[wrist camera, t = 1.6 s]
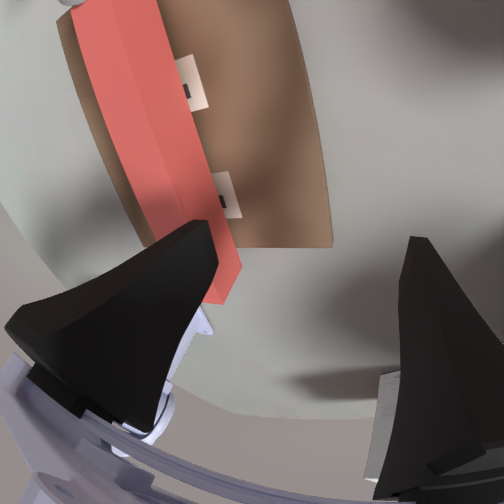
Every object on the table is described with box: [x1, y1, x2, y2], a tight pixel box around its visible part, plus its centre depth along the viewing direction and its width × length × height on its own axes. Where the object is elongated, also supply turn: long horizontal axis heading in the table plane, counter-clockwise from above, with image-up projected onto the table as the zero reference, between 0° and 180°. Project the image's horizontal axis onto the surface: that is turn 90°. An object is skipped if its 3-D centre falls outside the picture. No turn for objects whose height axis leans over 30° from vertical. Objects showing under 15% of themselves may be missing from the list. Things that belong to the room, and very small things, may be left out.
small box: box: [364, 371, 400, 482], centre depth 25 cm, size 8×6×13 cm
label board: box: [56, 0, 333, 248], centre depth 17 cm, size 17×23×1 cm
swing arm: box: [59, 0, 242, 305], centre depth 15 cm, size 4×25×4 cm, turn 15°
